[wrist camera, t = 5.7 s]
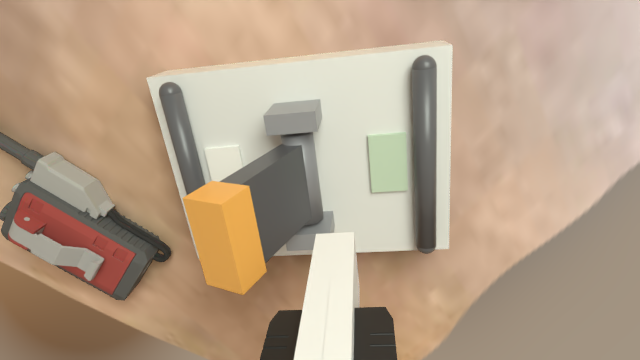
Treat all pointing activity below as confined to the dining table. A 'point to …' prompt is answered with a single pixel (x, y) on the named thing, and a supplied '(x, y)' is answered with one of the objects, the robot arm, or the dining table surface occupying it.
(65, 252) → the walkie-talkie
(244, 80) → the panel
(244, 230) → the lever
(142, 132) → the dining table surface
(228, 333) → the dining table surface
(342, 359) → the robot arm
